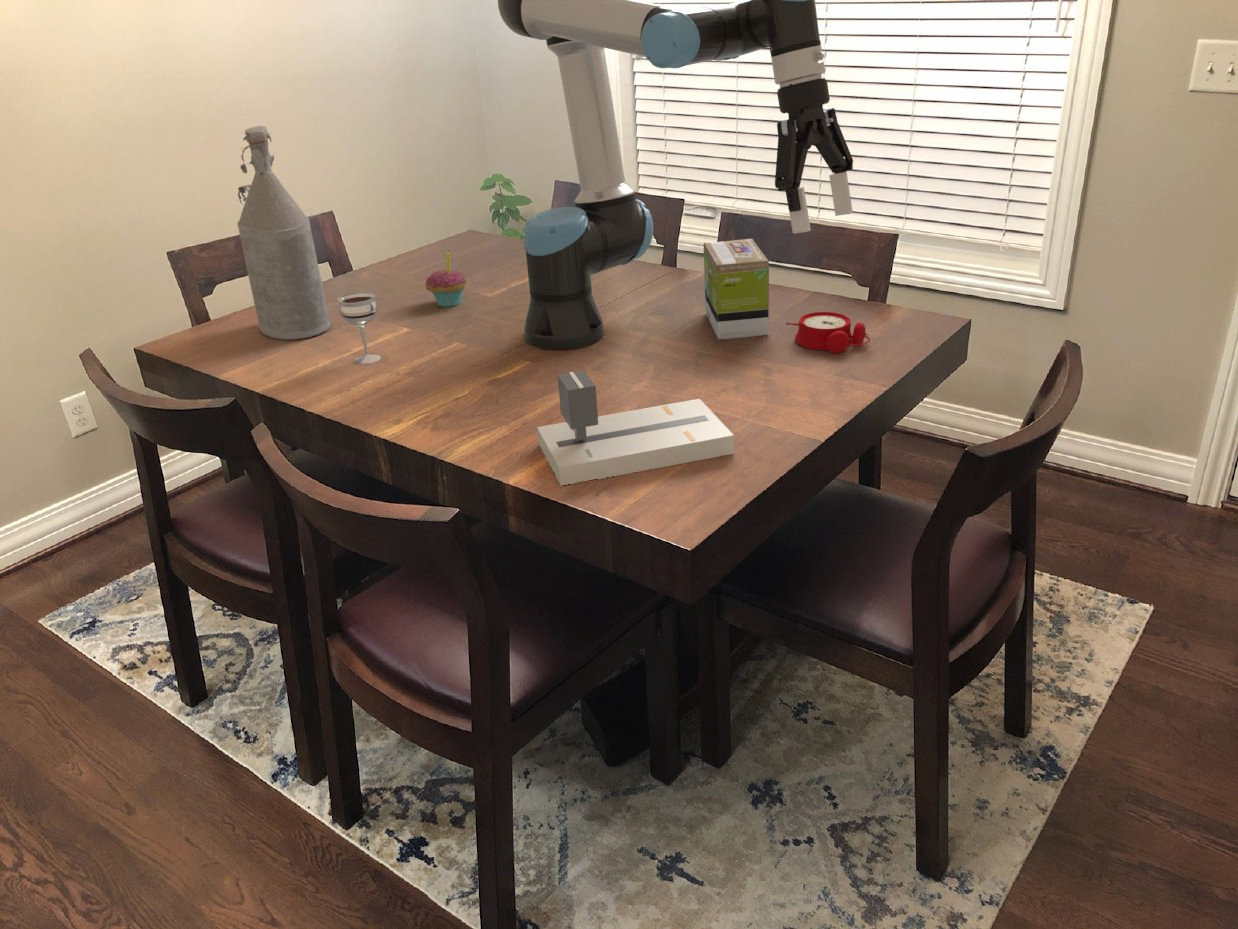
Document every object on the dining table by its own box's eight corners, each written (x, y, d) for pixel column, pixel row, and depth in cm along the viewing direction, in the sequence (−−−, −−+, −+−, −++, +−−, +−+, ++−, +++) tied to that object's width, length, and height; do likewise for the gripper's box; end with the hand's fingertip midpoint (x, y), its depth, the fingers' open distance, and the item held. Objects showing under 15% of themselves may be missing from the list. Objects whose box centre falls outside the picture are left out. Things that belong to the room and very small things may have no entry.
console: (538, 445, 154) (537, 426, 153) (699, 416, 160) (699, 398, 159) (560, 486, 142) (559, 467, 141) (733, 453, 148) (733, 434, 147)
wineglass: (373, 349, 194) (362, 289, 189) (393, 357, 190) (382, 296, 184) (342, 360, 190) (330, 298, 185) (361, 368, 186) (350, 305, 180)
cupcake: (477, 299, 218) (470, 244, 212) (451, 312, 211) (443, 255, 206) (446, 294, 222) (439, 240, 216) (420, 306, 216) (411, 251, 210)
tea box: (703, 314, 202) (702, 240, 195) (753, 310, 203) (754, 236, 196) (716, 340, 189) (715, 262, 182) (769, 336, 189) (771, 258, 182)
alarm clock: (816, 307, 192) (881, 307, 180) (821, 339, 193) (885, 342, 182) (778, 321, 186) (842, 322, 174) (783, 354, 188) (847, 358, 176)
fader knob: (562, 431, 150) (557, 374, 145) (588, 427, 151) (584, 369, 146) (572, 449, 144) (567, 389, 140) (599, 444, 145) (595, 385, 141)
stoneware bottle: (296, 312, 217) (255, 118, 198) (345, 327, 207) (307, 124, 188) (243, 330, 208) (195, 129, 190) (292, 346, 198) (246, 136, 180)
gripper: (779, 85, 141) (804, 237, 148) (861, 67, 159) (881, 204, 165) (735, 96, 146) (761, 242, 153) (819, 78, 164) (840, 210, 170)
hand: (823, 223), depth 159 cm, fingers open, 13 cm apart
